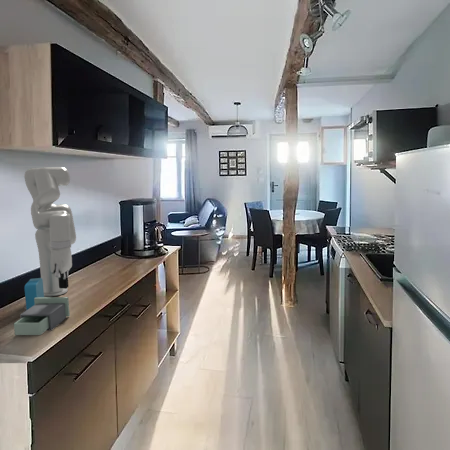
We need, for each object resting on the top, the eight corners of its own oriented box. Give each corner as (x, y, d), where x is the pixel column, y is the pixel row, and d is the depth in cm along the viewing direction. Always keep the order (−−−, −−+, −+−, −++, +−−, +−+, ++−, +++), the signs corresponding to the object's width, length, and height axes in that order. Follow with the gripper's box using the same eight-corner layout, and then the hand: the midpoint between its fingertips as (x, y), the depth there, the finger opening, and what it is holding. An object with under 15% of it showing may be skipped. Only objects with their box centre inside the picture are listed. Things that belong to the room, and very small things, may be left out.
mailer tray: (37, 315, 153) (35, 297, 152) (69, 315, 153) (68, 297, 152) (9, 336, 134) (7, 315, 133) (46, 335, 134) (44, 314, 133)
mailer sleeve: (38, 318, 152) (36, 303, 151) (65, 318, 152) (64, 303, 151) (21, 330, 140) (19, 314, 139) (51, 330, 140) (50, 314, 139)
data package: (33, 304, 168) (31, 277, 167) (44, 303, 169) (42, 277, 168) (26, 314, 157) (24, 285, 155) (38, 313, 158) (36, 284, 156)
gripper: (60, 240, 164) (62, 281, 167) (42, 248, 149) (46, 294, 153) (77, 240, 164) (80, 281, 167) (62, 249, 149) (65, 294, 153)
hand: (63, 287), depth 160 cm, fingers closed
